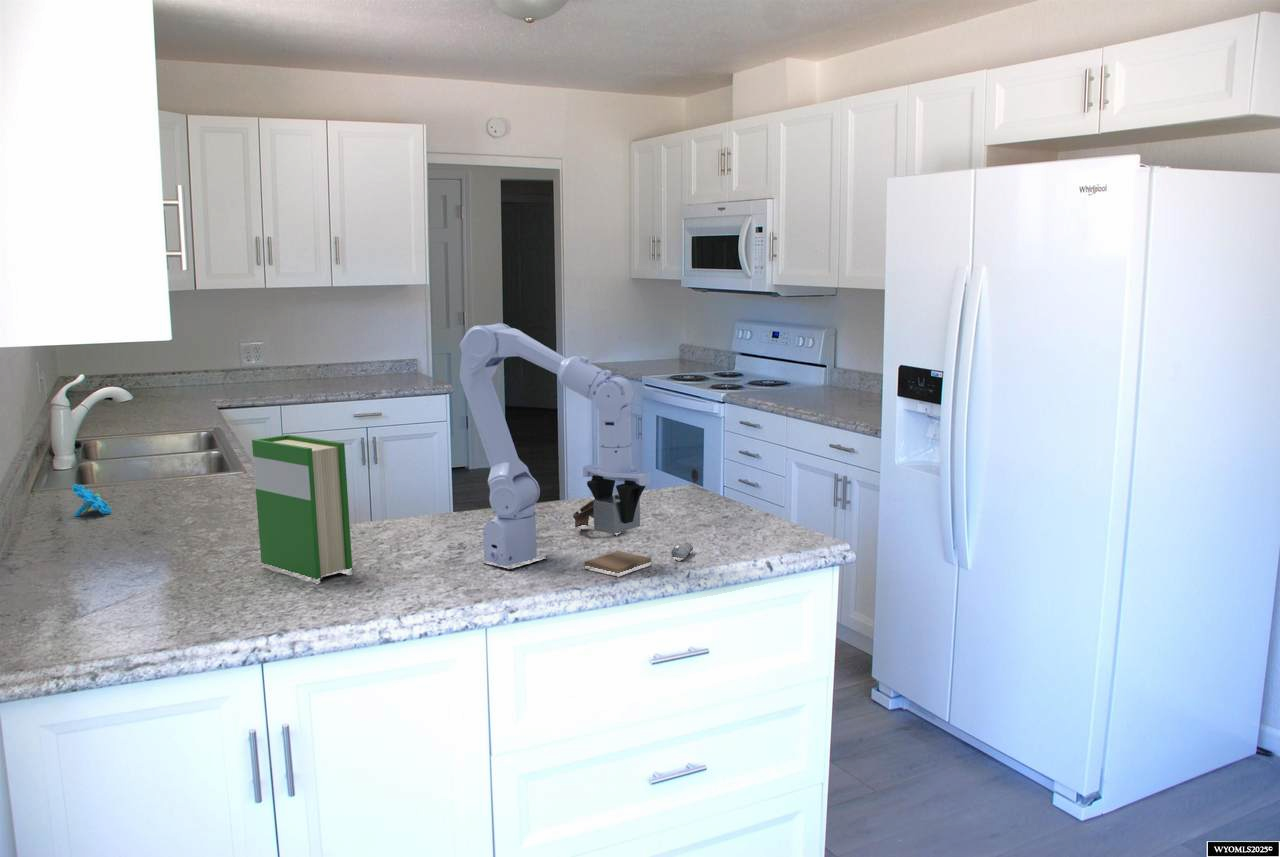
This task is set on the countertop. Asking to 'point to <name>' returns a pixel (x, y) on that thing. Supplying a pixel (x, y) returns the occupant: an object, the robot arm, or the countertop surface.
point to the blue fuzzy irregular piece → (90, 500)
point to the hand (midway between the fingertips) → (616, 520)
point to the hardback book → (302, 504)
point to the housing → (612, 515)
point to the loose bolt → (681, 551)
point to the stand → (617, 561)
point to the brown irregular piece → (584, 514)
